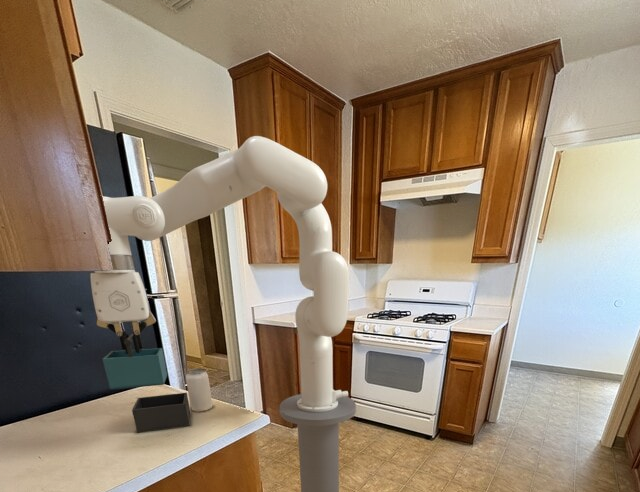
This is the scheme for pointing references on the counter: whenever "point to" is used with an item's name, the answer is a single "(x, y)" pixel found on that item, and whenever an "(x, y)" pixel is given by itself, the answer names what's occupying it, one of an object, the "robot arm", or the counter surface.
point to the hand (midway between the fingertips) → (133, 351)
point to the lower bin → (161, 412)
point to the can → (199, 390)
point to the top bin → (135, 367)
